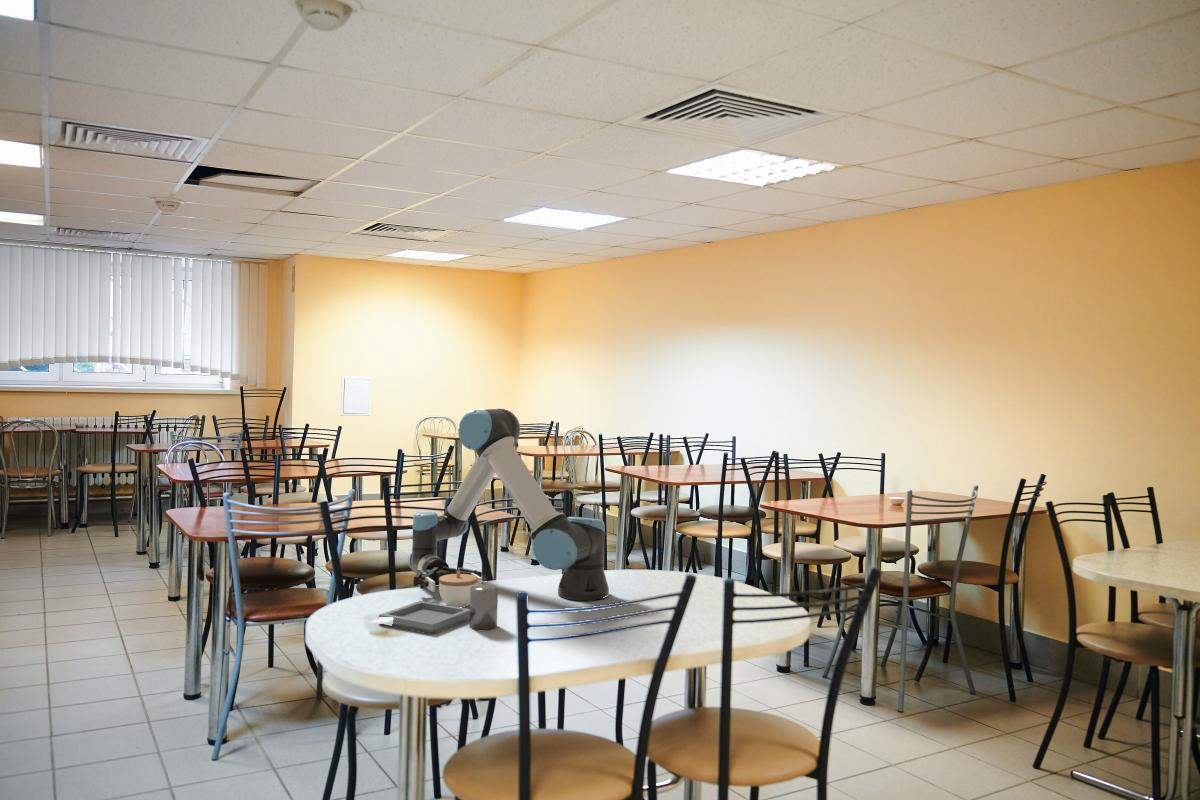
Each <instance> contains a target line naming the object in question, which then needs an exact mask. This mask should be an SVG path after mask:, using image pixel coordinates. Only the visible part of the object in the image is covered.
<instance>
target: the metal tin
mask: <svg viewBox="0 0 1200 800" xmlns="http://www.w3.org/2000/svg"><path fill="white" fill-rule="evenodd" d="M498 595H499V587H498V586H496V585H492V584H481V585H475V586H472V587H471V588H470V604H469V609H470V620H469V624H468V625H469V629H471V628H472V629H471V630H473V629H476V630H475V631H479V630H486V631H492V630H491V629H493V630H495V629H497V628H496V627H498V602H499V601H498V599H499V597H498ZM494 628H495V629H494Z"/></svg>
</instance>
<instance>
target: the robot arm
mask: <svg viewBox="0 0 1200 800" xmlns="http://www.w3.org/2000/svg"><path fill="white" fill-rule="evenodd" d="M520 425H521V424H520V422H519V420H518V418H517V416H516V415H515V414H514V413H513V412H511V411H510V410H508V409H505V408H491V409H490V408H489V409H488V408H487V409H486V408H485V409H484V408H477V409H473V410H469V411H467V413H465V414H464V415H463V416H462V418H461V420H460V422H459V424H458V426H459V427H458V430H457V431H458V438H459V441H460V443H461V445H463V447H465V448H466V449H468V450H470V451H474V452H475V454H476V455H477V456H476V458H475V459H474V461H473V463H472V465H471V467H470V468H469V470H468V472H467V473H466V475H465V477H464V479H463V480H462V482H461V483H460V486H459V487H458V488H457V491H456V493H455V494H454V496H453V498H452V499H451V501H450V503H449V504H448V506H447V508H446V509H445V511H444V513H443V514H442V515H438V513H437V512H434V511H418V512H415V513H414V514H413V518H412V519H413V520H412V521H413V522H412V526H411V527H412V548H411V553H410V554H409V557H408V559H407V560H408V563H407V564H408V566H409V568H410V569H411V571H412V572H413V573H414V574H415V575H414V576H413V587H418V586H420V587H419V589H420V590H422V589H423V590H424V589H425V588H427V589H428V590H429V591H431V592H433V593H435V591H436V585H439V578H440V577H441V576H444V575H449V574H457V572H460V574H469V575H473V576H476V577H477V578H478V581H477V585H482V578H483V577H482V575H483V574H482V573H483V572H482V571H478V570H477V569H475V570H473V569H469V568H464V567H461V566H458V567H457V568H453V567H450V566H449V564H448V562H446V561H445V560H444V559H442V558H440V557H439V556H438V554H437V552H438V541H442V540H447V539H451V538H457V537H459V536H462V535H464V534H465V533H466V532H467V531H468V529H469V525H470V524H469V517H470V515H471V514H472V512H473V511H474V509H475V507H476V506H477V504H478V502H480V501H479V500H480V499H481V497H482V495H484V493H485V490H486V489H487V487H488V486H489V484H490V482H491V481H492V479H493V478H494V476H495V474H496V476H497V477H498V479H499V480H500V483H502V485H503V487H504V488H505V489H506V491H507V493H508V494H509V496H510V498H511V499H512V501H513V502H514V504H515V505H516V506H517V509H518V510H519V511H520V513H521V514H522V516H523V518H524V519H525V520H526V522H527V523H528V525H529V527H530V528H531V530H530V534H529V536H530V538H531V540H532V546H533V548H532V552H533V556H534V558H535V559H536V561H537V562H538V563H539V564H540V566H542V567H543V568H546V569H548V570H550V571H552V570H553V571H558V570H563V573H562V575H561V578H560V580H559V584H558V587H557V595H558V596H559V597H561V598H563V599H567V600H570V601H572V600H573V601H581V600H591V601H597V600H596V599H600V598H603V597H605V596H607V595H608V594H609V593H610V588H609V584H608V581H607V578H606V573H605V570H604V569H605V568H604V566H605V565H604V562H605V536H606V530H605V528H606V527H605V522H604V521H603V519H599V518H590V517H579V516H568V517H567V516H566V514H565V513H563V512H561V511H560V512H559V511H557V510H556V508H555V507H554V506H553V504H552V502H551V501H550V500H549V498H548V496H547V495H546V494H545V492H544V490H543V489H542V488H541V486H540V484H539V483H538V481H537V480H536V479H535V477H534V476H533V474H532V472H531V471H530V470H529V468H528V467H527V465H526V463H525V462H524V460H523V459H522V457H521V455H520V454H519V453H518V451H517V450H516V448H515V447H516V446H517V443H518V441H519V438H520V433H521V426H520ZM600 600H601V599H600Z"/></svg>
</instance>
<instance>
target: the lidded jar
mask: <svg viewBox="0 0 1200 800" xmlns="http://www.w3.org/2000/svg"><path fill="white" fill-rule="evenodd" d="M477 581H478V578H477V577H476V576H473V575H469V574H460V572H457V574H449V575H444V576H441V577H440V578H439V584H438V591H439V596H440V599H441V600H442V602H443V603H444V605H448V606H454V607H464V608H466V607H465V606H467V607H469V606H470V588H471V587H472V586H475V585H477ZM468 605H469V606H468Z"/></svg>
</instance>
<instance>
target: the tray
mask: <svg viewBox="0 0 1200 800" xmlns="http://www.w3.org/2000/svg"><path fill="white" fill-rule="evenodd" d="M379 617H393V618H394V620H393V624H392V627H391V628H395V627H396V629H400V628H403V629H402V630H406V629H407V631H411V630H414V631H413V632H416V631H419V632H418V633H421V632H424V633H423V634H427V633H430V634H429V635H432V634H433V635H435V634H437V633H436V632H438V633H440V632H442V630H443V631H445V630H447V629H446V628H448V629H450V628H449V627H451V628H453V627H456V626H458V625H460V623H461V624H463V623H465V621H466V622H468V621H470V608H467V607H464V608H460V607H454V606H448V605H446V604H443V603H436V602H431V601H424V600H423V601H422V600H419V601H416V602H413V603H410V604H408V605H404V606H401V607H398V608H395V609H392V610H389V611H386V612H382V613H380V614H378V618H379ZM467 620H468V621H467ZM457 624H458V625H457ZM455 625H456V626H455ZM452 626H453V627H452ZM444 629H445V630H444ZM439 631H440V632H439ZM434 633H435V634H434Z"/></svg>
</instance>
